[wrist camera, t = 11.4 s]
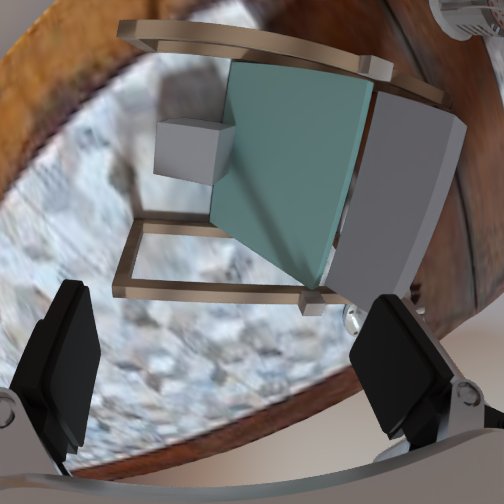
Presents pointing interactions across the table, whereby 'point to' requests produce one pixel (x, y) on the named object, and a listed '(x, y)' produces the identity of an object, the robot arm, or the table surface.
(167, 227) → the stand
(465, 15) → the french press
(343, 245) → the hatch door
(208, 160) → the smooth gray block
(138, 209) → the table surface
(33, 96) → the table surface
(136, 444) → the table surface
